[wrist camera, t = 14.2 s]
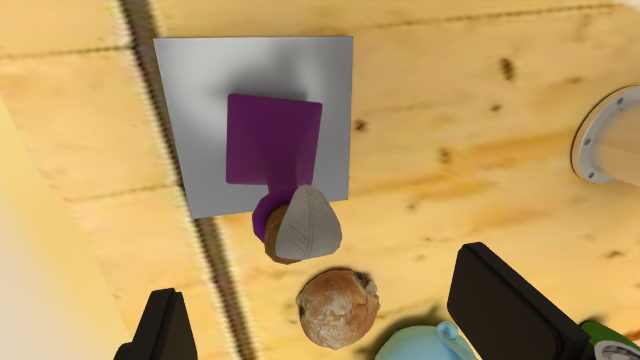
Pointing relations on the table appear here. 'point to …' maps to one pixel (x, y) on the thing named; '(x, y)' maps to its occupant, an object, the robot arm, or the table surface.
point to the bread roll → (338, 308)
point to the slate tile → (257, 80)
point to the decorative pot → (426, 344)
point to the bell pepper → (605, 334)
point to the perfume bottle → (281, 174)
